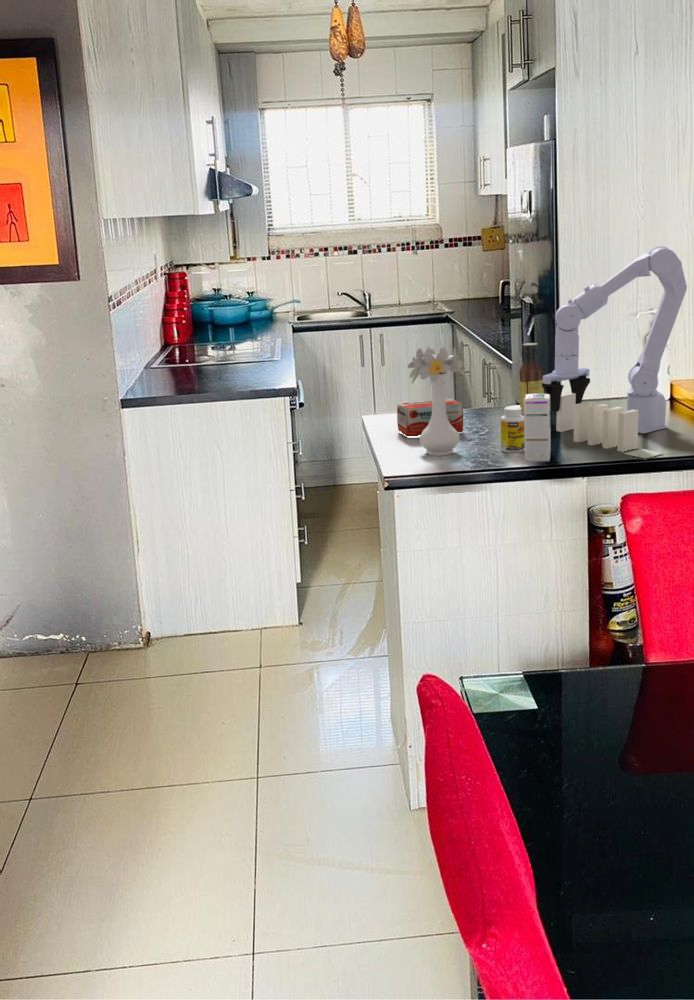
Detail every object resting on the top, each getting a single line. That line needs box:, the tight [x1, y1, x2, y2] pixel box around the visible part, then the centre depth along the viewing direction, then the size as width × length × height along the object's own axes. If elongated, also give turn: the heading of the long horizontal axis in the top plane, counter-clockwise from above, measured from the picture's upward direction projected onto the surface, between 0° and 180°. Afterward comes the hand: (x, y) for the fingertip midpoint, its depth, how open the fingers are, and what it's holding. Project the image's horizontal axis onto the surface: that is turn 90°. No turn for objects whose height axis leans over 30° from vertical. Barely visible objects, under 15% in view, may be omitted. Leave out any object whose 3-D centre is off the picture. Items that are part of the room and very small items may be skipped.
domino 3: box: [587, 403, 609, 446], centre depth 250 cm, size 2×5×9 cm, turn 125°
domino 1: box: [555, 392, 576, 433], centre depth 265 cm, size 2×5×9 cm, turn 125°
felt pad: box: [623, 448, 664, 458], centre depth 239 cm, size 6×6×1 cm
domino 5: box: [616, 410, 639, 453], centre depth 243 cm, size 2×5×9 cm, turn 125°
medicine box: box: [396, 397, 464, 436], centre depth 268 cm, size 15×8×8 cm, turn 105°
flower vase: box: [407, 346, 468, 457], centre depth 246 cm, size 13×18×25 cm
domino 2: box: [573, 401, 595, 443], centre depth 254 cm, size 2×5×9 cm, turn 125°
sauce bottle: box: [518, 342, 545, 416], centre depth 276 cm, size 6×6×20 cm
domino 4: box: [601, 406, 624, 449], centre depth 246 cm, size 2×5×9 cm, turn 125°
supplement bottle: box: [500, 405, 525, 454], centre depth 247 cm, size 6×6×10 cm
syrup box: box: [524, 393, 552, 462], centre depth 238 cm, size 6×6×14 cm
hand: (565, 408), depth 264 cm, fingers open, 7 cm apart
